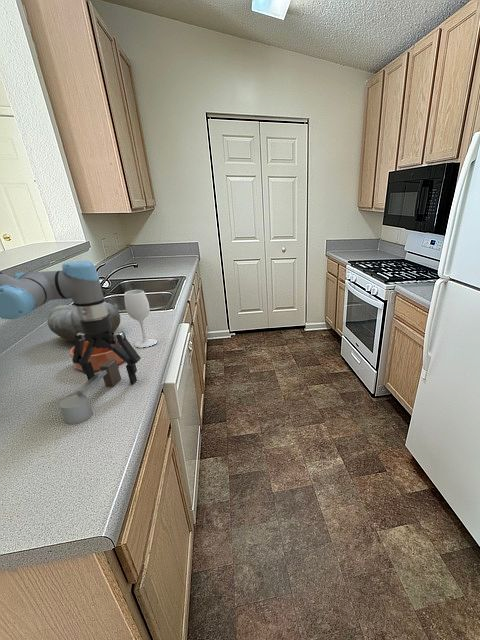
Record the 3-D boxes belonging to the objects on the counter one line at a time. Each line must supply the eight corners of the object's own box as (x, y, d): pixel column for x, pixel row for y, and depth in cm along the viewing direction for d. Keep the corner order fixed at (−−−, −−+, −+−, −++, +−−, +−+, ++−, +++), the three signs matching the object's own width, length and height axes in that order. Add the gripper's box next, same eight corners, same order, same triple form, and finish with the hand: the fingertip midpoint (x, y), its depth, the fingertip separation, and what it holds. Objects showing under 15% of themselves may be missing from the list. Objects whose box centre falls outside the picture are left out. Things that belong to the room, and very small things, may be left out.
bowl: (64, 372, 111) (58, 356, 108) (92, 352, 126) (87, 337, 123) (113, 372, 111) (108, 356, 108) (135, 351, 126) (132, 337, 123)
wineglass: (134, 349, 127) (120, 296, 118) (134, 341, 134) (121, 290, 125) (158, 345, 130) (147, 293, 121) (157, 338, 138) (146, 288, 128)
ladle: (83, 424, 86) (75, 401, 83) (59, 424, 86) (50, 401, 83) (127, 378, 107) (122, 359, 104) (107, 378, 107) (102, 359, 104)
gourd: (93, 346, 124) (76, 300, 119) (40, 351, 130) (22, 308, 124) (136, 329, 147) (123, 290, 142) (90, 334, 153) (76, 297, 147)
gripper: (42, 322, 92) (67, 388, 101) (130, 321, 92) (146, 388, 101) (60, 313, 99) (82, 376, 108) (142, 313, 98) (156, 376, 108)
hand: (113, 382), depth 105 cm, fingers open, 12 cm apart
